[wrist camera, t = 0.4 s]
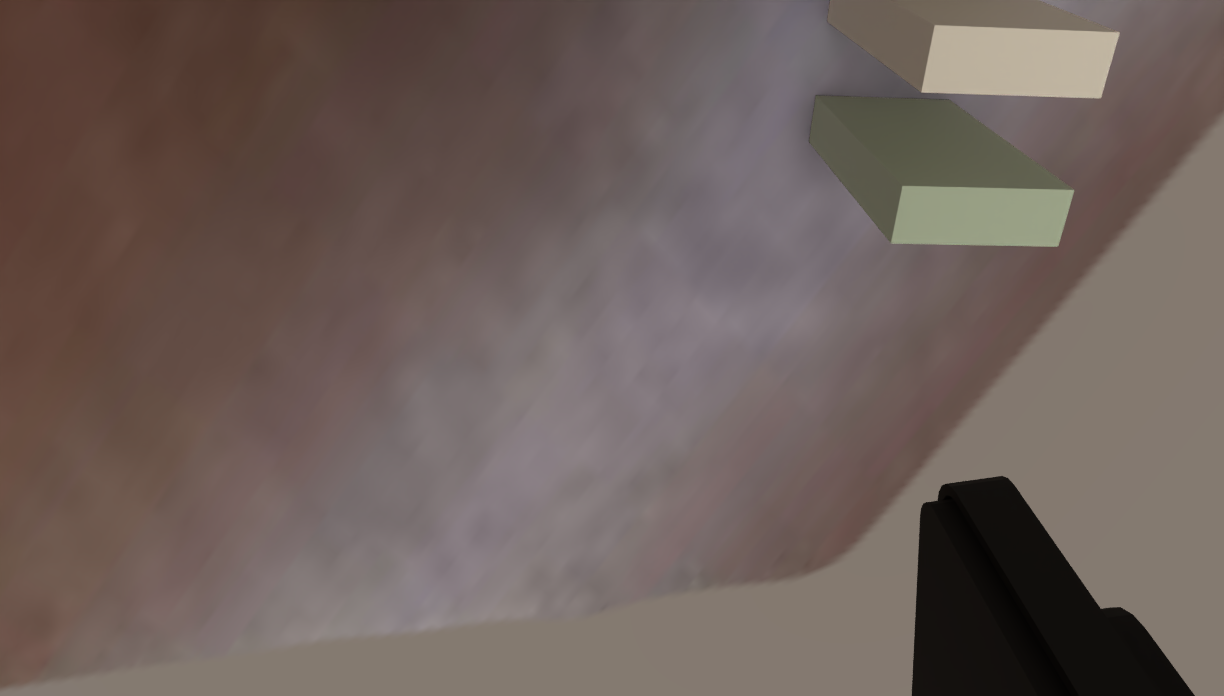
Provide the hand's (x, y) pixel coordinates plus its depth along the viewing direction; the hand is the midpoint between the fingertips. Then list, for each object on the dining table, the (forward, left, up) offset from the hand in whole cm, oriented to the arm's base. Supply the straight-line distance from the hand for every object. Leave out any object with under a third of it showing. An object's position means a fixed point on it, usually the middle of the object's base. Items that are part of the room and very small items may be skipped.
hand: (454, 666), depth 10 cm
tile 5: (+3, +14, -30) cm, 33 cm away
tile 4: (-2, +14, -30) cm, 33 cm away
